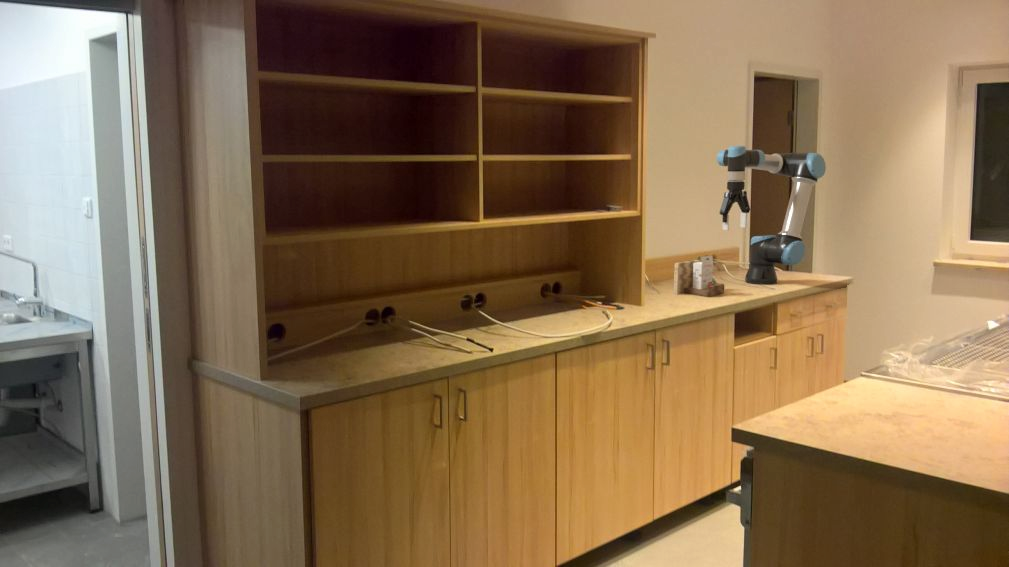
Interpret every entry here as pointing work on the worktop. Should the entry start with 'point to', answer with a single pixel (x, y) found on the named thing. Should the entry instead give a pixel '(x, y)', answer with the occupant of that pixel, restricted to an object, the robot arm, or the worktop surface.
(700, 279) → the ink cartridge box
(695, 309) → the worktop surface
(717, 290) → the brown wooden bookend
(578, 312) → the worktop surface
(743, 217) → the robot arm
